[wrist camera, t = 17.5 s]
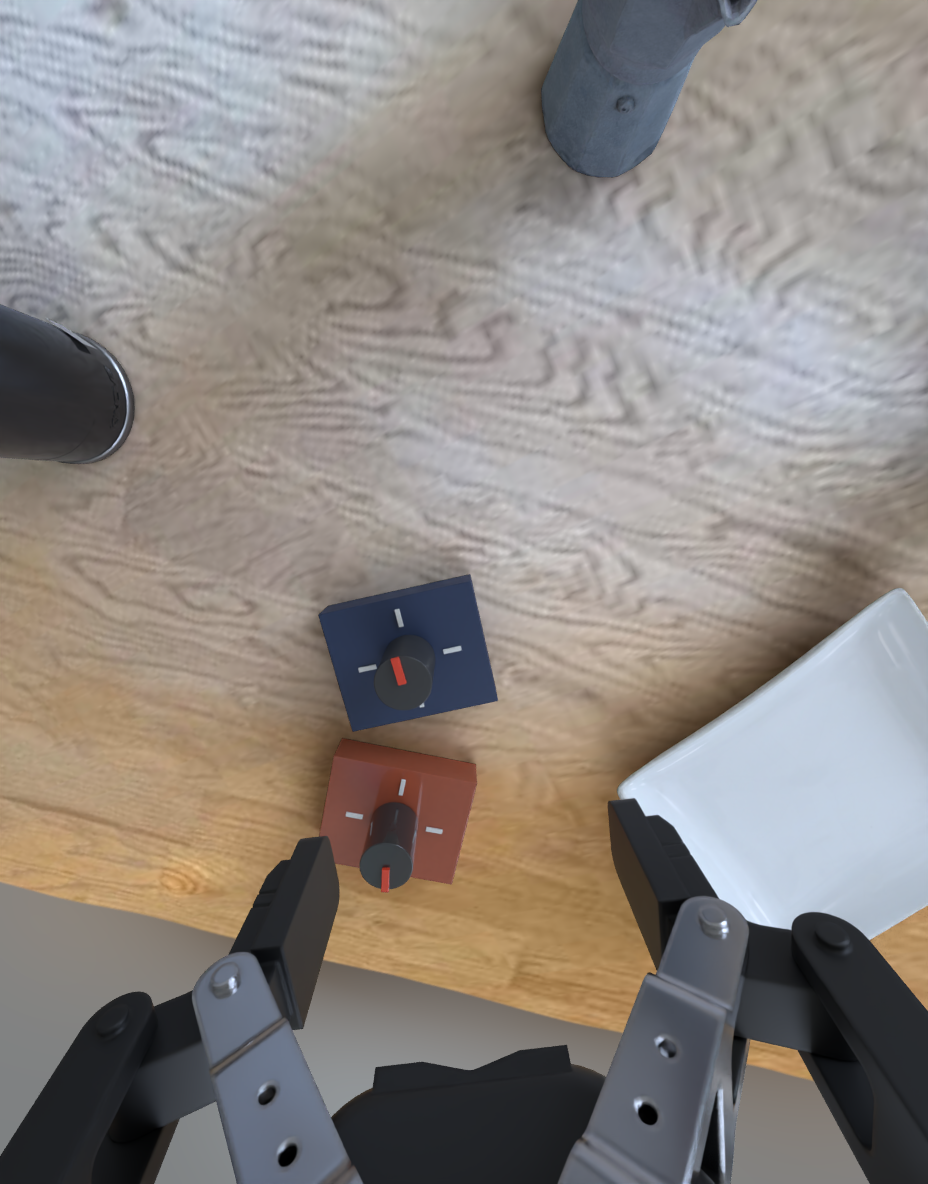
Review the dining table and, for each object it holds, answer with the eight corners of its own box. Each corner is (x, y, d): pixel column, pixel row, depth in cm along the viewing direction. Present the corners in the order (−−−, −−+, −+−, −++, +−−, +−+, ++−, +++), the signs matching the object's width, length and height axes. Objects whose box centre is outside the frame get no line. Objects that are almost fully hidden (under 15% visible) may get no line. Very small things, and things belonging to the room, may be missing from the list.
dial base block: (323, 836, 46) (313, 861, 43) (341, 737, 44) (333, 756, 41) (452, 859, 47) (451, 886, 44) (476, 763, 45) (477, 784, 42)
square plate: (599, 767, 45) (612, 794, 41) (867, 573, 42) (908, 582, 38) (763, 959, 49) (789, 999, 46) (1017, 798, 46) (1067, 827, 42)
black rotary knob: (441, 676, 40) (438, 704, 35) (392, 688, 40) (382, 718, 35) (427, 628, 39) (422, 650, 34) (377, 641, 39) (365, 665, 34)
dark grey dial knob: (371, 800, 42) (358, 844, 37) (419, 802, 42) (413, 847, 37) (370, 842, 43) (357, 891, 38) (417, 844, 43) (411, 894, 38)
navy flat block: (359, 715, 44) (351, 733, 41) (327, 605, 42) (317, 615, 39) (495, 686, 43) (498, 701, 40) (470, 573, 41) (471, 581, 38)
